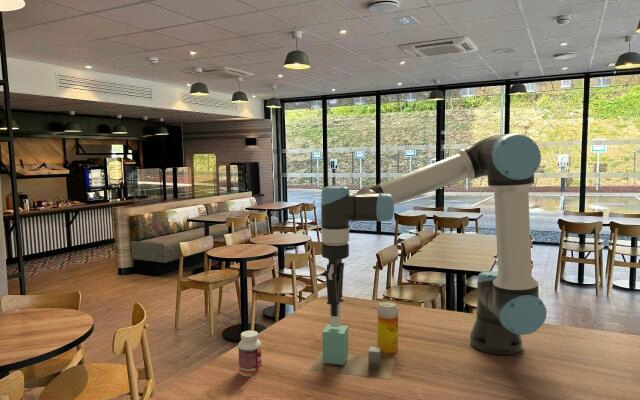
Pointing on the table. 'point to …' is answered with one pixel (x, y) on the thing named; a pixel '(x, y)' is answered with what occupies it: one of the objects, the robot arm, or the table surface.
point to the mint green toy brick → (335, 344)
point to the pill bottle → (249, 353)
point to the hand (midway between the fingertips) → (335, 325)
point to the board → (355, 366)
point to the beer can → (387, 327)
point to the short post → (374, 358)
